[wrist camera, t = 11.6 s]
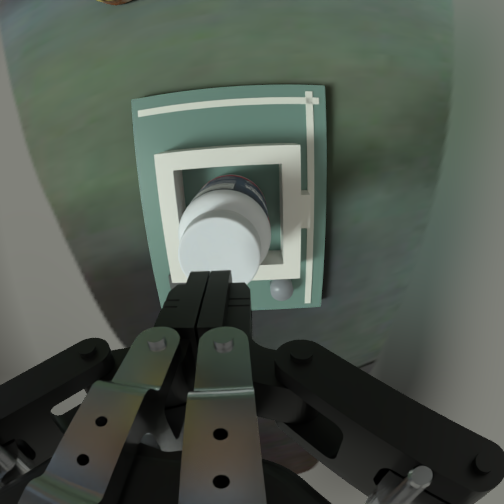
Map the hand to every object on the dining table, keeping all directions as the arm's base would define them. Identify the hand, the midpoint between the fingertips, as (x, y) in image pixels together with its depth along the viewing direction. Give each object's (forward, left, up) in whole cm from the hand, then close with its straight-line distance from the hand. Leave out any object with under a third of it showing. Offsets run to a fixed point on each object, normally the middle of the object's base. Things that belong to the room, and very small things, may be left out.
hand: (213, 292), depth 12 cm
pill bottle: (0, 0, -12) cm, 12 cm away
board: (0, 0, -13) cm, 13 cm away
